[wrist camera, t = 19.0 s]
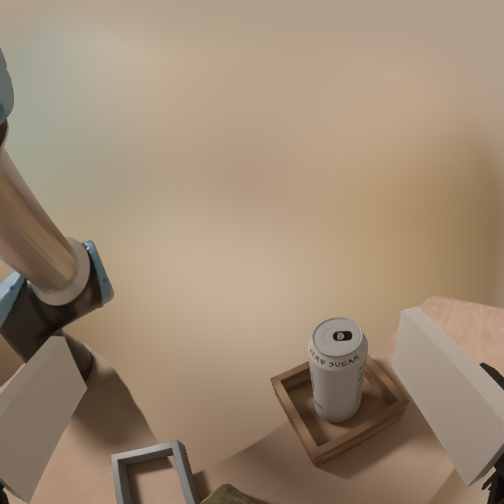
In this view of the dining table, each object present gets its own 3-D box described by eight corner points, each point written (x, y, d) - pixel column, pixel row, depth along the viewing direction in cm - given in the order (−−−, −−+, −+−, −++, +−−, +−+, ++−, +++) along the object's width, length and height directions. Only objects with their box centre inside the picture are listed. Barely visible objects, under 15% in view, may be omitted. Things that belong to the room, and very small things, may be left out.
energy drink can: (317, 387, 37) (308, 314, 29) (359, 386, 35) (366, 310, 27) (313, 425, 32) (303, 362, 24) (359, 424, 30) (371, 359, 22)
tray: (120, 460, 31) (111, 454, 30) (184, 445, 33) (177, 439, 32) (130, 523, 22) (120, 520, 21) (204, 512, 24) (196, 510, 23)
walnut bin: (275, 394, 38) (270, 378, 36) (352, 356, 41) (353, 337, 38) (315, 466, 27) (313, 457, 25) (401, 416, 30) (408, 401, 27)
